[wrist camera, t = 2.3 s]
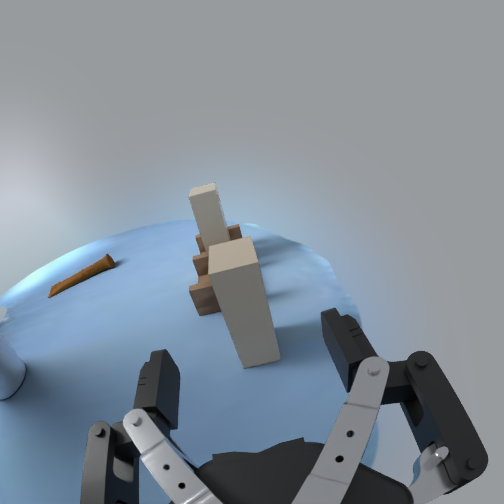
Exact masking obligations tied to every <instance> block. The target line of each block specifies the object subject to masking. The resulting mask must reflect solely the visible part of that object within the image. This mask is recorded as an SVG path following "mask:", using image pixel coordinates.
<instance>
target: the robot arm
mask: <svg viewBox="0 0 504 504" xmlns="http://www.w3.org/2000/svg"><path fill="white" fill-rule="evenodd" d="M321 322H322V332H323V338H324V341H325V344H326V346H327V348H328V351H329V353H330V355H331V357H332V360H333V362H334V364H335V366H336V368H337V371H338V373H339V375H340V378H341V380H342V382H343V384H344V387H345V389H346V391H347V393H348V392H350V393H349V396H348V398H347V401H346V402H345V403H344V404H343V406H342V408H341V410H340V412H339V415H338V417H337V420H336V422H335V424H334V426H333V429H332V431H331V433H330V435H329V437H328V440H327V442H326V444H322V443H316V442H304V438H303V437H302V438H299V439H295V440H291V441H287V442H282V443H279V444H277V445H275V446H273V447H271V448H268V449H266V450H264V451H261V452H259V453H247V452H228V453H220V454H212V456H213V460H211V461H209V462H207V463H205V464H203V465H202V466H200V467H199V466H198V465H196V464H195V463H194V462H193V461H192V460H191V459H190V458H189V457H188V456H187V455H186V453H185V452H184V451H183V450H182V449H181V448H180V447H179V445H178V444H177V443H176V442H175V441H174V440H173V438H172V437H171V436H170V430H174V429H178V407H179V390H180V372H179V369H178V367H177V365H176V364H175V362H174V361H173V359H172V357H171V356H170V354H169V353H168V351H167V350H166V349H164V350H158V351H153V352H151V356H150V361H149V362H145V364H144V365H143V367H142V369H141V371H140V375H139V380H138V386H137V391H136V396H135V402H134V407H133V410H131V411H129V412H128V413H127V414H126V415H125V417H124V420H123V421H121V422H119V423H116V424H113V425H109V424H108V423H106V422H104V421H98V422H96V423H94V424H93V425H92V426H91V428H90V430H89V434H88V440H87V446H86V452H85V460H84V467H83V476H82V486H81V499H80V504H139V457H140V458H141V460H142V461H143V463H144V464H145V466H146V467H147V468H148V470H149V471H150V473H151V474H152V475H153V477H154V478H155V479H156V481H157V482H158V483H159V485H160V486H161V487H162V488H163V490H164V491H165V492H166V493H167V495H168V496H169V497H170V498H171V500H172V501H171V502H170V503H169V504H425V503H427V502H429V501H431V500H433V499H435V498H436V497H438V496H440V495H445V494H449V493H451V492H453V491H455V490H457V489H458V488H460V487H462V486H464V485H466V484H467V483H469V482H471V481H472V480H474V479H475V478H477V477H479V476H480V475H481V474H482V473H483V472H484V471H485V469H486V467H487V464H488V455H487V453H486V450H485V448H484V446H483V444H482V442H481V440H480V438H479V436H478V434H477V432H476V430H475V428H474V426H473V424H472V422H471V420H470V418H469V417H468V415H467V413H466V411H465V409H464V407H463V406H462V404H461V402H460V400H459V398H458V397H457V395H456V393H455V392H454V390H453V388H452V386H451V385H450V383H449V381H448V380H447V378H446V376H445V375H444V373H443V372H442V370H441V368H440V367H439V365H438V363H437V362H436V360H435V359H434V357H433V356H432V355H431V354H430V353H428V352H425V351H417V352H414V353H412V354H411V355H410V356H409V357H408V359H407V360H405V361H397V362H389V361H385V360H384V359H383V358H381V357H379V356H378V355H377V354H376V352H375V351H374V349H373V347H372V346H371V344H370V343H369V341H368V339H367V338H366V336H365V334H364V332H363V331H362V329H361V328H360V326H359V324H358V323H357V321H356V320H355V319H354V318H352V317H351V316H349V315H348V314H347V315H344V316H340V314H339V313H338V311H337V309H336V308H332V309H329V310H326V311H323V312H321ZM25 372H26V366H25V364H24V363H23V361H22V360H21V359H20V358H19V356H18V355H17V354H16V353H15V351H14V350H13V349H12V347H11V346H10V345H9V343H8V342H7V341H6V339H5V338H4V337H3V335H2V334H1V332H0V399H6V398H8V397H10V396H11V395H12V394H14V392H15V391H16V390H17V389H18V388H19V386H20V385H21V383H22V381H23V379H24V376H25ZM392 403H400V405H401V407H402V410H403V412H404V414H405V416H406V419H407V421H408V423H409V426H410V428H411V430H412V433H413V435H414V437H415V440H416V442H417V445H418V447H419V450H420V452H421V455H420V456H419V457H418V458H417V460H416V461H415V463H414V465H413V473H414V478H413V481H412V483H411V485H410V486H409V487H406V486H405V485H404V484H402V483H400V482H398V481H396V480H394V479H392V478H390V477H388V476H385V475H383V474H381V473H379V472H377V471H375V470H373V469H371V468H369V467H367V466H365V465H363V464H362V463H360V462H361V460H362V457H363V455H364V452H365V450H366V447H367V444H368V441H369V439H370V436H371V433H372V430H373V427H374V424H375V421H376V418H377V415H378V411H379V409H380V405H384V404H392Z"/></svg>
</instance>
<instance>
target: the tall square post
mask: <svg viewBox="0 0 504 504" xmlns="http://www.w3.org/2000/svg"><path fill="white" fill-rule="evenodd" d="M189 200H190V203H191V206H192V210H193V213H194V216H195V219H196V222H197V226H198V229H199V232H200V235H201V238H202V241H203V244H204V247H205V250H206V253H208V252H209V246H213V245H217V244H221V243H225V242H228V241H231V239H230V235H229V231H228V228H227V224H226V221H225V217H224V213H223V210H222V206H221V203H220V199H219V195H218V191H217V187H216V184H215V182H214V183H211V184H206V185H203V186H200V187H196V188H192V189H191V192H190V195H189Z"/></svg>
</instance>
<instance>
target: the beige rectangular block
mask: <svg viewBox="0 0 504 504" xmlns="http://www.w3.org/2000/svg"><path fill="white" fill-rule="evenodd" d="M208 275H209V278H210V281H211V283H212V286H213V289H214V292H215V295H216V297H217V300H218V303H219V306H220V308H221V311H222V314H223V316H224V319H225V322H226V324H227V327H228V330H229V332H230V335H231V338H232V340H233V343H234V345H235V348H236V350H237V353H238V355H239V358H240V360H241V363H242V365H243V368H248V367H253V366H257V365H261V364H265V363H270V362H274V361H278V360H281V356H280V351H279V347H278V343H277V339H276V334H275V330H274V326H273V322H272V317H271V313H270V309H269V305H268V300H267V296H266V292H265V288H264V283H263V279H262V275H261V271H260V266H259V262H258V259H257V255H256V252H255V249H254V245H253V242H252V239H251V236H248V237H244V238H240V239H236V240H232V241H228V242H225V243H221V244H217V245H213V246H209V266H208Z"/></svg>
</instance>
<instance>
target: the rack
mask: <svg viewBox="0 0 504 504" xmlns="http://www.w3.org/2000/svg"><path fill="white" fill-rule="evenodd" d="M227 228H228V231H229V235H230V239H231V241H232V240H236V239H240V238H242V235H241V231H240V227H239V224H237V225H234V226H230V227H227ZM196 241H197V244H198V247H199V250H200V255H197V256H193V263H194V265H195V268H196V271H197V274H198V276H199V277H198V284H196V285H191V286H189V293H190V295H191V298H192V300H193V302H194V305H195V307H196V309H197V312H198V314H199V316H201V315H205V314H210V313H214V312H219V311H221V308H220V306H219V303H218V300H217V297H216V295H215V292H214V289H213V286H212V283H211V281H210V278H209V275H208V266H209V252H208V253H206V250H205V247H204V244H203V241H202V238H201V235H200V234H199V235H196Z"/></svg>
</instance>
